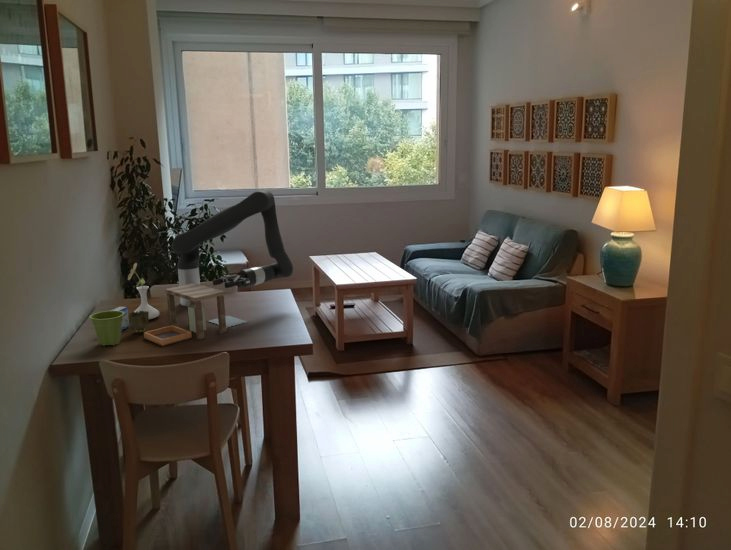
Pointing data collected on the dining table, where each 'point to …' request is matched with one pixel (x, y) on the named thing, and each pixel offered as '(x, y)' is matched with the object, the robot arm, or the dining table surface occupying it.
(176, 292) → the walnut table
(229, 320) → the slate mat
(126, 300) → the dining table surface
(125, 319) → the medicine box
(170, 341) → the shallow orange tray
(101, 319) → the plant pot
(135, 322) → the cup
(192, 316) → the sage block
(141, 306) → the flower in vase
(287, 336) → the dining table surface
